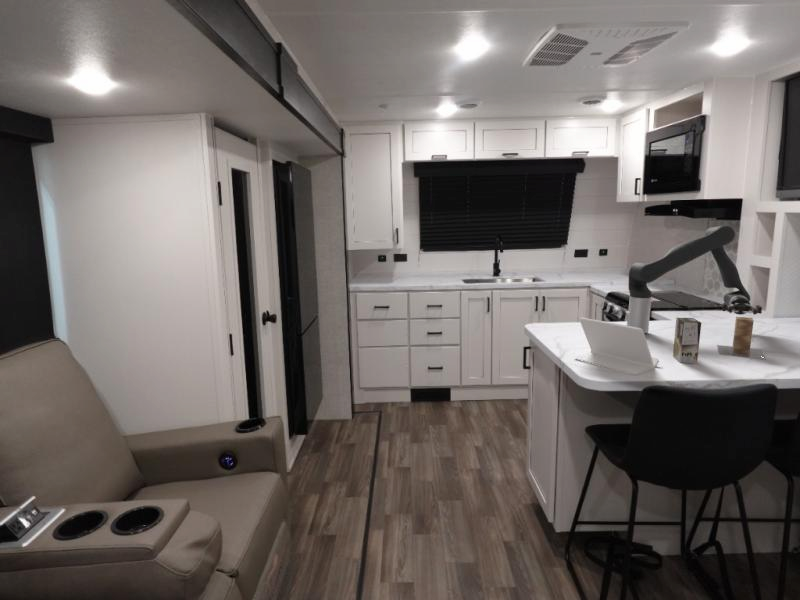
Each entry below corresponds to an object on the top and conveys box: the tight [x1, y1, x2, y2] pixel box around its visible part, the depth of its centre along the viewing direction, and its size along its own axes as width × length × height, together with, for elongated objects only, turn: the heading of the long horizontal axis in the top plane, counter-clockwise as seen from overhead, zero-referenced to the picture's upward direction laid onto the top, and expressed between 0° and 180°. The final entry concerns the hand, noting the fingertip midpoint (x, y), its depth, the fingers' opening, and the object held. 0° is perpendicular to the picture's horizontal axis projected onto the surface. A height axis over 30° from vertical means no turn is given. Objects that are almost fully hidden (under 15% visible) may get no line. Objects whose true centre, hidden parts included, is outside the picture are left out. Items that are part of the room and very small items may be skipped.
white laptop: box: [574, 316, 660, 376], centre depth 196 cm, size 18×25×17 cm
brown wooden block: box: [732, 316, 754, 354], centre depth 209 cm, size 6×6×14 cm
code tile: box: [716, 344, 767, 361], centre depth 210 cm, size 16×16×1 cm
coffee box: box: [672, 317, 702, 364], centre depth 199 cm, size 9×6×16 cm
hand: (742, 311), depth 217 cm, fingers open, 8 cm apart
